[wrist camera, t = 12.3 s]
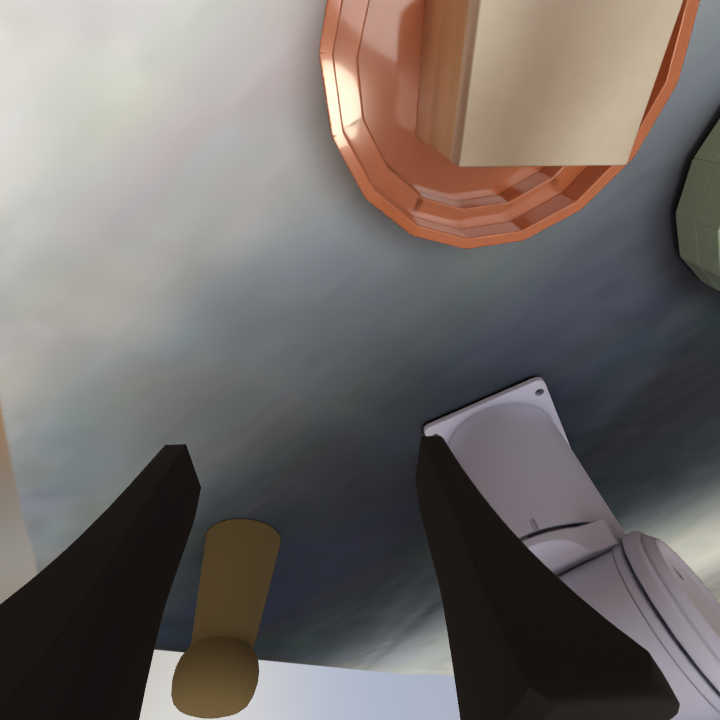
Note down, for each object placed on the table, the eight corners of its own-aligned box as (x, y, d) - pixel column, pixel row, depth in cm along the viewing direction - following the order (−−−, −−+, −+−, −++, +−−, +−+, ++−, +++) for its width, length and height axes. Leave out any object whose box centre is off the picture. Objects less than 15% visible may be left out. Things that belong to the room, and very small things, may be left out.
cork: (233, 509, 30) (190, 689, 21) (295, 537, 33) (281, 708, 24) (191, 543, 33) (136, 718, 24) (252, 567, 35) (224, 733, 26)
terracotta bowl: (657, 132, 17) (711, 141, 15) (408, 269, 20) (418, 296, 18) (606, -298, 11) (685, -408, 8) (258, -7, 14) (242, -26, 11)
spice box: (556, -14, 14) (712, -82, 8) (525, 136, 17) (627, 165, 11) (426, -15, 14) (491, -85, 8) (415, 137, 16) (458, 167, 11)
